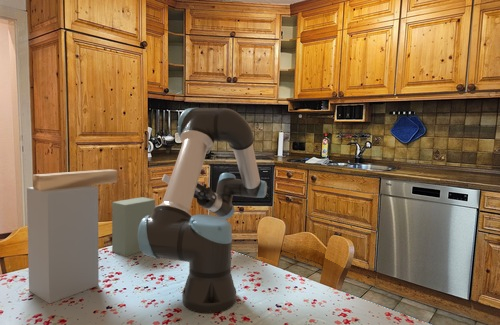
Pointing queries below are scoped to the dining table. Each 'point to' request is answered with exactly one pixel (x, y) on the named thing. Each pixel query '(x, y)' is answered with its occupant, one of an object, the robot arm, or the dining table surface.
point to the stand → (62, 241)
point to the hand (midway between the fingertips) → (176, 179)
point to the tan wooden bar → (73, 179)
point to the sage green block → (128, 223)
